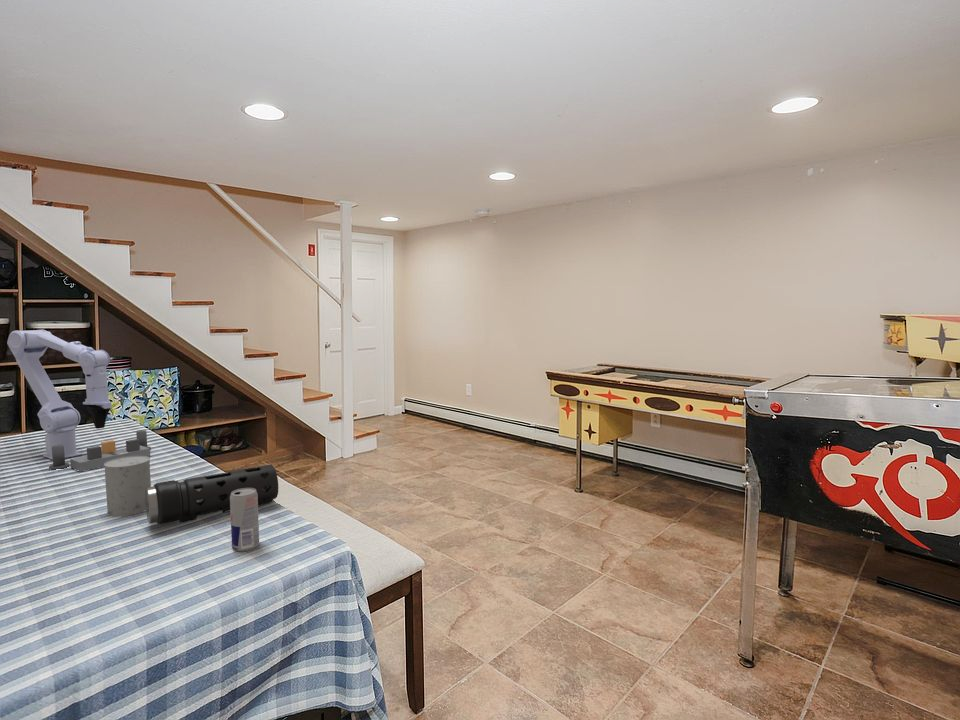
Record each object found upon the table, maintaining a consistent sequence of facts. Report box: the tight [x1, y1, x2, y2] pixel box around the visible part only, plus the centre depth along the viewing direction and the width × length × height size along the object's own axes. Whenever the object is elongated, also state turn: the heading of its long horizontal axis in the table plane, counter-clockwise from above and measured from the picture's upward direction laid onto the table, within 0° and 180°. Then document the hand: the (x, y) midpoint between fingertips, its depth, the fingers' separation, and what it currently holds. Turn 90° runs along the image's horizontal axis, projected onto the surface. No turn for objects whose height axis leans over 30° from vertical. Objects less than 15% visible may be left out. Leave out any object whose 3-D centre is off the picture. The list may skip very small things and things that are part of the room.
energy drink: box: [229, 488, 260, 552], centre depth 112 cm, size 5×5×12 cm
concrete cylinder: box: [104, 456, 152, 517], centre depth 132 cm, size 10×10×12 cm
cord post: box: [135, 430, 152, 451], centre depth 184 cm, size 5×5×7 cm
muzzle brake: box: [145, 464, 279, 525], centre depth 129 cm, size 10×28×10 cm, turn 128°
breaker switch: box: [100, 440, 117, 454], centre depth 171 cm, size 2×3×4 cm, turn 147°
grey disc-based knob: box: [48, 445, 70, 470], centre depth 164 cm, size 5×5×7 cm
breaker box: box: [70, 438, 151, 471], centre depth 170 cm, size 7×20×6 cm, turn 147°
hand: (100, 427), depth 174 cm, fingers closed
